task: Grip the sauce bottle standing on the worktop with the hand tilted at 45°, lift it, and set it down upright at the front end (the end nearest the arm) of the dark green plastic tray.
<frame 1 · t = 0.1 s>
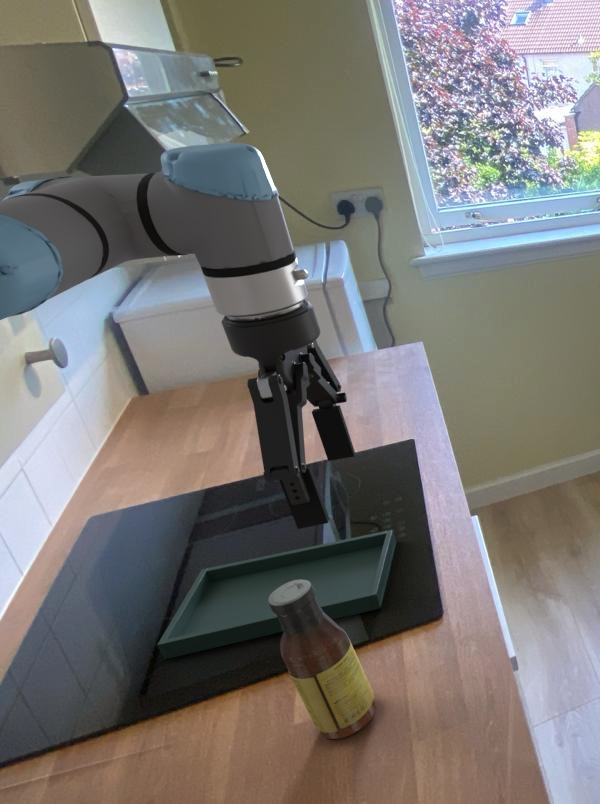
hand: (329, 488, 81), 29 cm above the worktop, tool pointing down, fingers open, 13 cm apart
tray: (292, 595, 106), on the worktop
sauce bottle: (347, 721, 87), on the worktop
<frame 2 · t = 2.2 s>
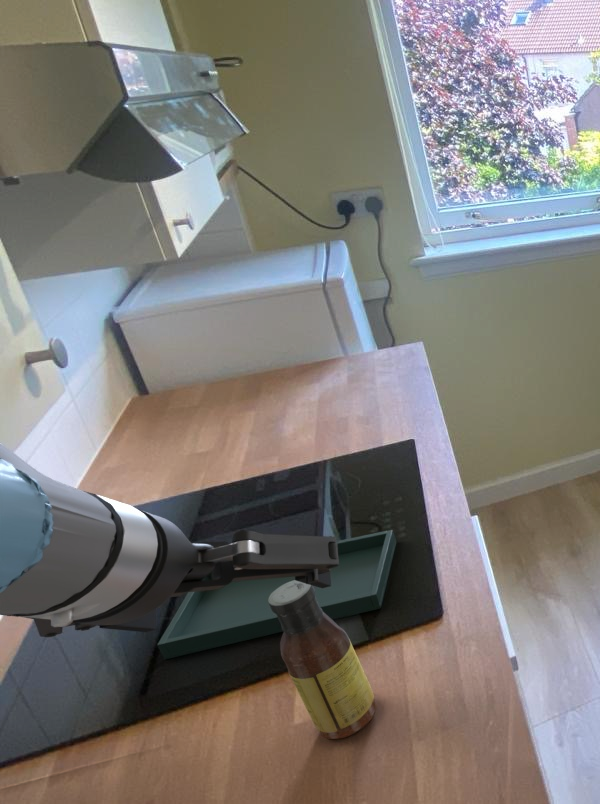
hand: (241, 593, 67), 28 cm above the worktop, tool tilted 45°, fingers open, 13 cm apart
nothing on the worktop moved.
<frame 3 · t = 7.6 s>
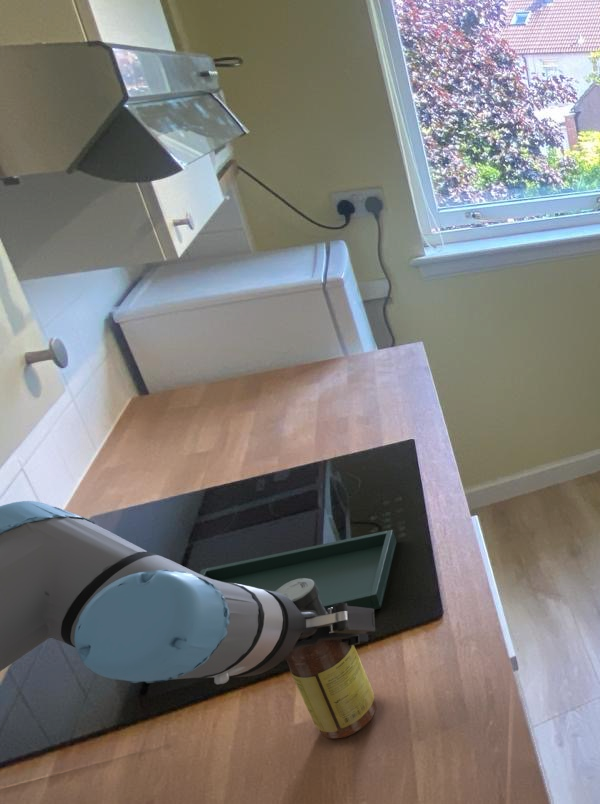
hand: (330, 638, 86), 9 cm above the worktop, tool tilted 45°, fingers closed on sauce bottle, 6 cm apart
sauce bottle: (347, 721, 87), on the worktop, touching gripper
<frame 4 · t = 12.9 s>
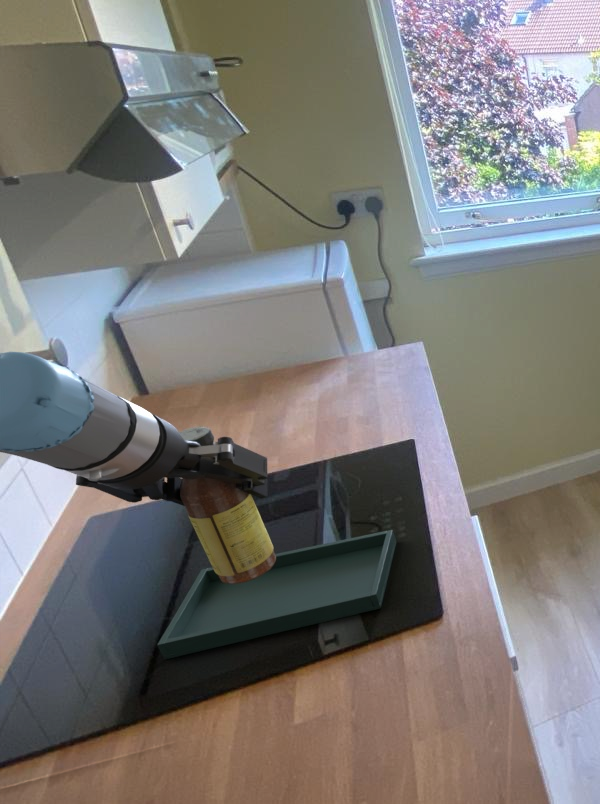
hand: (232, 493, 92), 22 cm above the worktop, tool tilted 45°, fingers closed on sauce bottle, 6 cm apart
sauce bottle: (247, 571, 92), point 13 cm above the worktop, touching gripper
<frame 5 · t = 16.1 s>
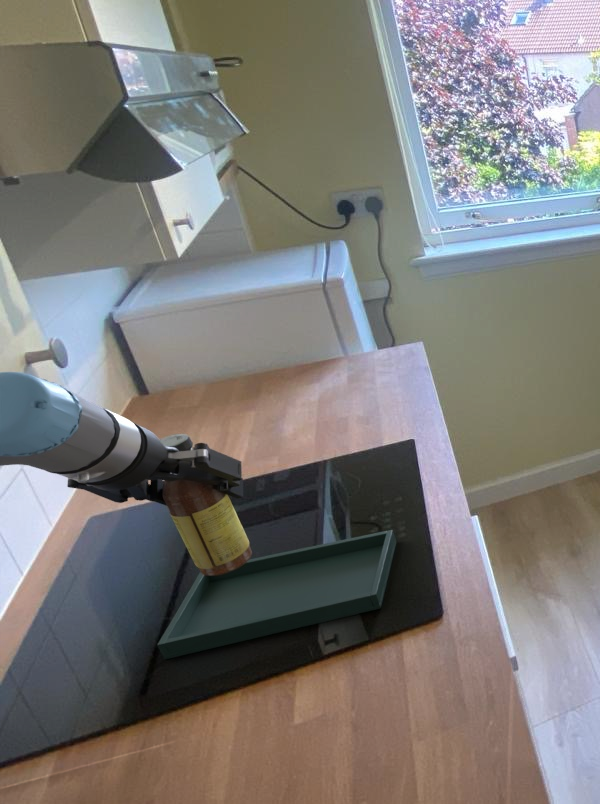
hand: (210, 493, 101), 17 cm above the worktop, tool tilted 45°, fingers closed on sauce bottle, 6 cm apart
sauce bottle: (226, 565, 102), point 7 cm above the worktop, touching gripper
when the fingers open (10 cm above the worktop, at t = 18.5 s): sauce bottle stays where it is, resting on tray.
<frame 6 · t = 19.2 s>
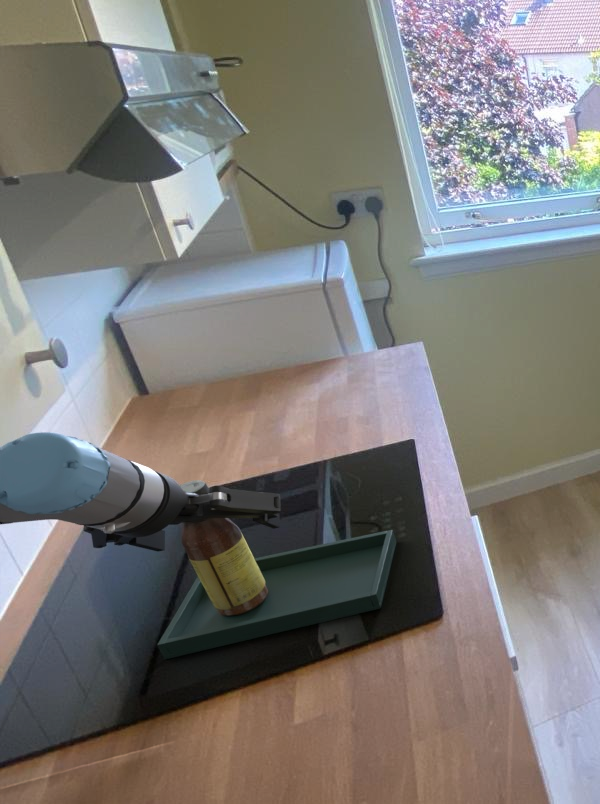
hand: (220, 529, 102), 12 cm above the worktop, tool tilted 45°, fingers open, 13 cm apart
sauce bottle: (243, 604, 104), resting on tray
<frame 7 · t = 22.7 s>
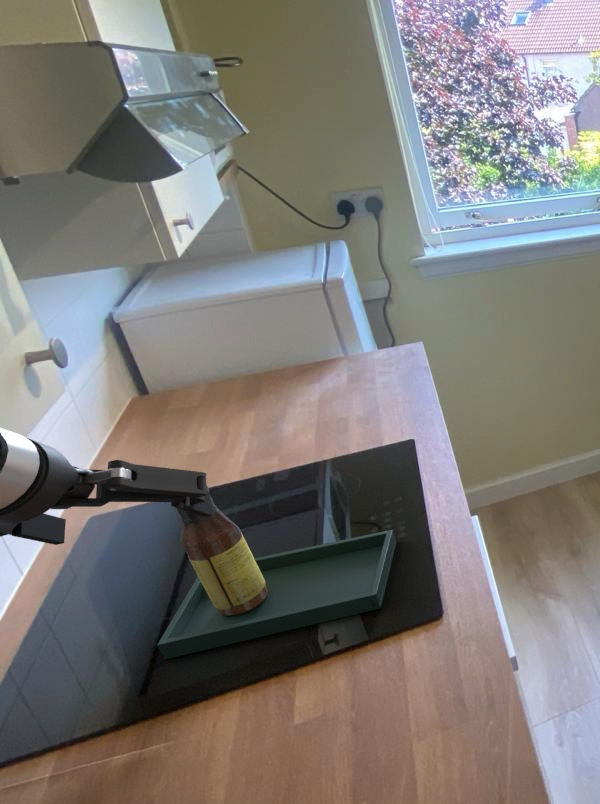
hand: (135, 518, 83), 25 cm above the worktop, tool tilted 45°, fingers open, 13 cm apart
nothing on the worktop moved.
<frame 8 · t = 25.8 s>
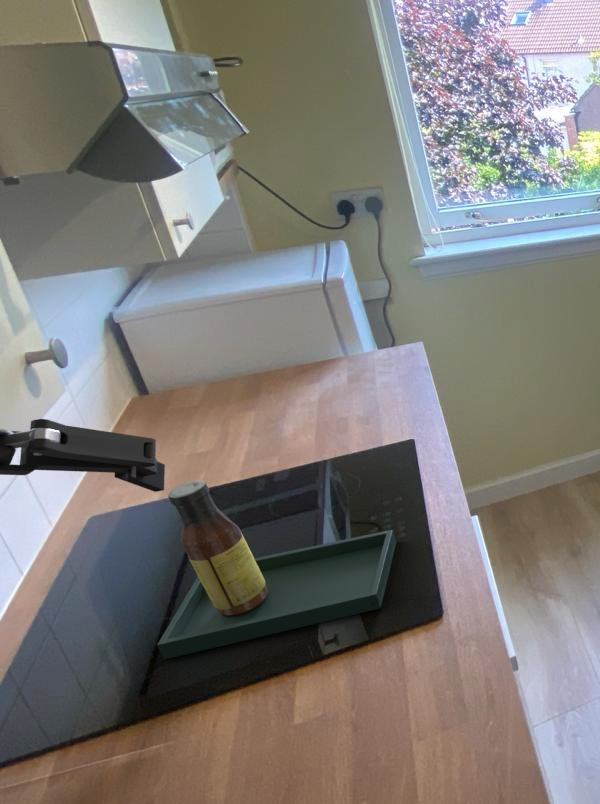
hand: (77, 492, 72), 34 cm above the worktop, tool tilted 45°, fingers open, 13 cm apart
nothing on the worktop moved.
at the end: sauce bottle inside the target area in the tray (0.3 cm from its centre), point 0.4 cm above the tray's base; sauce bottle tilted 0°; the gripper is holding nothing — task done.
